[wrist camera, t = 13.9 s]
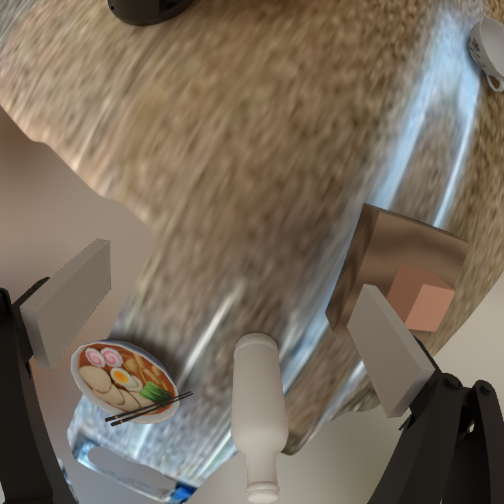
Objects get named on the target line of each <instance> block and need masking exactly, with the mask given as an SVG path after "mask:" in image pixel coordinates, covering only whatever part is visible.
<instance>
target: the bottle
mask: <svg viewBox="0 0 504 504" xmlns="http://www.w3.org/2000/svg"><path fill="white" fill-rule="evenodd" d="M288 434H289V433H288V424H287V417H286V409H285V402H284V394H283V387H282V380H281V372H280V365H279V354H278V348H277V344H276V342H275V340H274V339H273V338H272V337H270V336H269V335H267V334H264V333H256V332H253V333H249V334H246V335H244V336H242V337H241V338H240V339H239V340H238V341H237V342H236V345H235V351H234V374H233V398H232V422H231V435H232V438H233V441H234V444H235V446H236V448H237V450H238V451H239V452H240V453H242V454H243V455H244V456H246V457H247V488H246V493H247V499H248V500H249V501H250V502H252V503H257V504H266V503H272V502H274V501H276V500H277V499H278V498H279V496H278V493H279V486H278V483H277V472H276V460H275V455H277V454H278V453H279V452H280V451H282V450H283V448H284V447H285V444H286V442H287V438H288Z"/></svg>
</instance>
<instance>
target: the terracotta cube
mask: <svg viewBox="0 0 504 504" xmlns="http://www.w3.org/2000/svg"><path fill="white" fill-rule="evenodd" d="M455 292H456V291H455V290H454V289H453V288H452V287H450V286H449V285H448V284H447V283H446V282H445V281H443V280H442V279H441V278H440V277H439V276H437V275H436V274H435V273H434V272H432V271H428V270H425V269H421V268H417V267H413V266H409V265H405V264H400V267H399V269H398V272H397V274H396V276H395V279H394V281H393V284H392V286H391V288H390V291H389V293H388V295H387V298H386V300H387V301H388V303H389V304H390V305H391V307H392V308H393V309H394V311H395V312H396V313H397V315H398V316H399V317H400V319H401V320H402V322H403V323H404V324H405V326H406V327H407V329H414V330H423V331H433V332H436V330H437V328H438V326H439V324H440V323H441V321H442V319H443V317H444V315H445V313H446V311H447V309H448V307H449V305H450V303H451V301H452V299H453V297H454V294H455Z"/></svg>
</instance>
